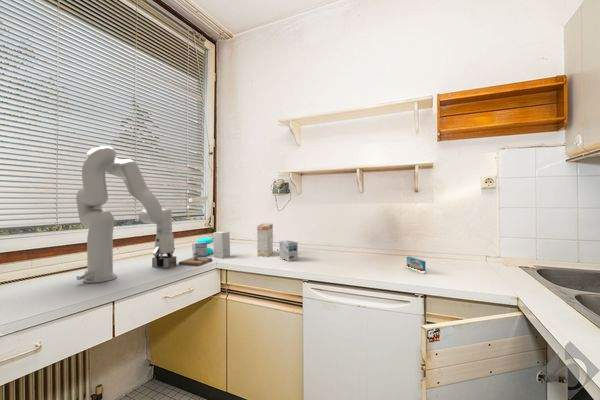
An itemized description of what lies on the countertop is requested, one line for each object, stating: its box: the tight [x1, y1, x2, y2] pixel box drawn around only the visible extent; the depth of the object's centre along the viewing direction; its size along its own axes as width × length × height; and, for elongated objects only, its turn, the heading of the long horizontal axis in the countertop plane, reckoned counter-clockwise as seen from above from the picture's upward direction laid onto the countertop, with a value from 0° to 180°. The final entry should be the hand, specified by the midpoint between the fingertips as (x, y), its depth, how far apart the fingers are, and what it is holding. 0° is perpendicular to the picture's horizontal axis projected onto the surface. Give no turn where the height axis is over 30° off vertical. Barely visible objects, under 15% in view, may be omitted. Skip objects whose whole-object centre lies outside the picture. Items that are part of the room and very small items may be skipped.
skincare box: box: [212, 230, 231, 259], centre depth 181 cm, size 8×7×16 cm
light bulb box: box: [279, 239, 299, 262], centre depth 175 cm, size 11×7×11 cm, turn 35°
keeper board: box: [178, 253, 213, 267], centre depth 165 cm, size 14×12×6 cm
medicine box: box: [191, 242, 208, 258], centre depth 183 cm, size 8×4×9 cm, turn 131°
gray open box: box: [151, 255, 177, 269], centre depth 157 cm, size 6×10×5 cm, turn 76°
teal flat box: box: [406, 256, 426, 272], centre depth 148 cm, size 12×2×6 cm, turn 18°
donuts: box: [196, 237, 214, 256], centre depth 192 cm, size 10×10×10 cm
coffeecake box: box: [256, 222, 274, 257], centre depth 190 cm, size 15×7×20 cm, turn 172°
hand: (164, 264), depth 157 cm, fingers closed on gray open box, 6 cm apart
